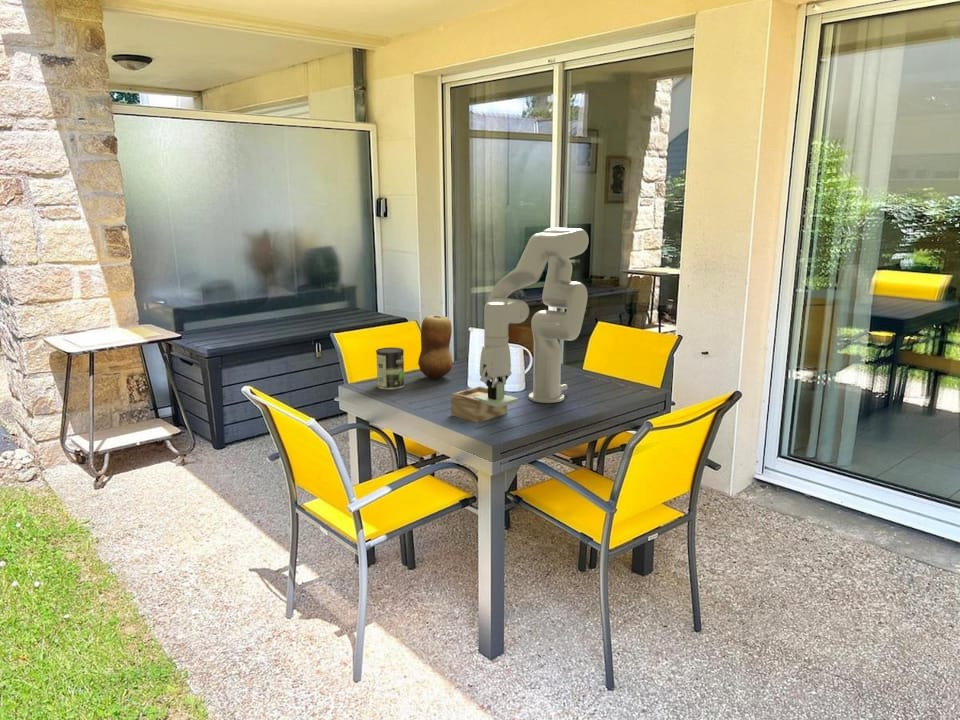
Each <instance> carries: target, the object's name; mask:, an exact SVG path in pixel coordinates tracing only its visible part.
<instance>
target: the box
mask: <svg viewBox="0 0 960 720" xmlns="http://www.w3.org/2000/svg"><path fill="white" fill-rule="evenodd" d="M487 393H488V387H485V386H480V385H479V386H475V387H471V388H468V389H465V390H461V391H456V392H452V393H451V394H452V395H451V397H450V415H451V416H452V417H453V416H454V417H456V418H458V419H459V418H460V419H464V420H466V421H470V422H473V423H476V424H478V423H481V422H482V423H483V422H484V421H488V420H490V419H493V418H497V417H500V416H504V415H507V414H508V405H506V406H503V407H499V408H498V407H494V406H491V405H488V404H484V403H481V400H478V399H475V398H474V397H476V396H480V395H483V394H487ZM504 395H507V392H504Z"/></svg>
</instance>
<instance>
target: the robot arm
mask: <svg viewBox="0 0 960 720" xmlns="http://www.w3.org/2000/svg"><path fill="white" fill-rule="evenodd" d="M589 241H590V240H589V235H588V232H587V231H586V230H584V229H582V228H575V227H574V228H573V227H572V228H571V227H549V228H546V229H544V230H542V232H538V233H535V234H533V235H531V236H530V238H529V240H528V242H527V244H526V245H525V248H524V251H523V252H522V255H521V256H520V259H519V261H518V263H517V265H516V267H515V268H514V269H513V270H511V271H510V272H509V273H507V274H506V275H505V276H503V277H502V278H501V279H500V280H499V281H498V282H497V283H496V284H495V285H494V287H493V288H492V290H491V292H490V294H489V296H488V299H487V301H486V303H485V305H484V308H483V310H484V313H483V314H484V315H483V316H484V317H483V318H484V320H483V321H484V322H483V324H484V326H483V327H484V330H483V331H484V332H483V334H484V337H483V341H484V346H482V348H481V353H480V362H479V376H480V379H479V381H481V382H482V383H484V384H485V386H486V387H487V388H488V398H490V399H493V400H495V399H496V387H495V381H498V382H502V383H504V386H505V385H506V383H507V380H508V379H509V377H510V376H511V375H512V371H511V370H512V364H511V363H512V362H511V361H512V358H511V349H510V345H509V339H510V336H509V324H521V323H523V322H525V321H526V319H528V317H529V315H530V307H529V305H528V303H527V302H525V301H524V300H521V299H518V298H517V299H516V298H509V296H510V295H512V293H514V292H515V291H517V290H520V289H522V288H526V287H528V286H531V285H533V284H536V283H537V282H538V281H540V279H541V277H542V275H543V273H544V270H545V267H546V265H548V267H547V273H546V276H545V281H544V286H543V290H542V298H541V299H542V303H543V304H544V305H545V306H547V307H550V308H557V309H566V311H559V310H551V309H549V310H548V309H544V310H543V309H542V310H538V311H537V312H535V313H534V315H533V316H532V317H531V323H530V324H531V333H532V337H533V376H532V377H533V378H532V379H533V380H532V381H533V382H532V385H533V386H532V387H533V389H532V392H531V393H530V392H529V394H528V399H529V400H530V401H532V402H534V403H541V404H553V403H554V404H555V403H560V402H562V401H564V400H565V395H564V394H563V393H562V391H565V390H567V389H568V384H566V383H565V384H561V370H562V369H561V368H562V367H561V364H562V349H561V345H560V343H559V341H560V340H562V341H569V342H570V341H575V340H576V339H577V338H578V337H579V335H580V333H581V330H582V326H583V323H584V322H583V321H584V318H585V313H586V308H587V304H588V296H589V295H588V289H587V287H586V285H585V284H584V283H582V282H580V281H572V280H571V279H572V276H573V275H572V274H573V264H572V262H571V260H570V258H574V257H576V256H580V255H582V254H583V253H584V252H585V251H586V250H587V249H588V245H589ZM547 263H548V264H547ZM558 340H559V341H558Z"/></svg>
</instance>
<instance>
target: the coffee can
mask: <svg viewBox="0 0 960 720" xmlns="http://www.w3.org/2000/svg"><path fill="white" fill-rule="evenodd" d="M404 351H405V350H404V349H403V348H402V347H396V346H395V347H394V346H393V347H392V346H391V347H381V348H377V349H376V350H375V353H376V372H377V376H376V377H377V388H378V389H380V390H387V391H388V390H399V389H402V388H404V387H405V364H404V363H405V359H404V355H405V354H404Z"/></svg>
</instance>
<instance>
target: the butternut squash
mask: <svg viewBox="0 0 960 720" xmlns="http://www.w3.org/2000/svg"><path fill="white" fill-rule="evenodd" d="M421 322H422V323H421V326H420V327H421V328H420V345H421V346H420V353H419V357H418V360H417V361H418V362H417V365H418V366H419V370H420V372H421V373H422V374H423V375H424V376H425V377H426V378H427V379H429V380H435V379H436V380H437V379H442V378H444V377H445V376H447V375H449V373H450V372H451V370H452V368H453V357H452V354H451V349H450V345H451V344H450V343H451V338H452V335H453V334H452V333H453V331H452V327H453V326H452V321H451V320H450V318H449V317H447V316H444V315H437V314H431V315H427V316H425V317H424V318H423V319H422V321H421Z"/></svg>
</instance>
